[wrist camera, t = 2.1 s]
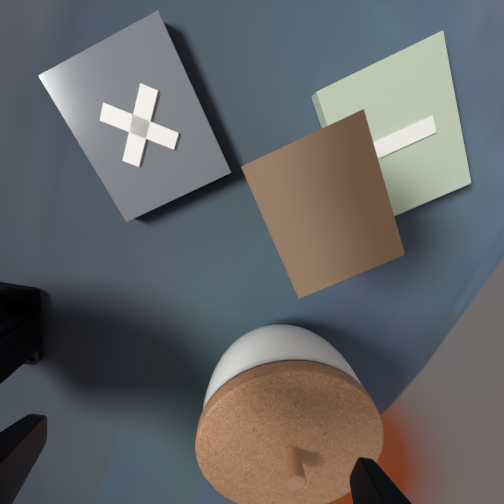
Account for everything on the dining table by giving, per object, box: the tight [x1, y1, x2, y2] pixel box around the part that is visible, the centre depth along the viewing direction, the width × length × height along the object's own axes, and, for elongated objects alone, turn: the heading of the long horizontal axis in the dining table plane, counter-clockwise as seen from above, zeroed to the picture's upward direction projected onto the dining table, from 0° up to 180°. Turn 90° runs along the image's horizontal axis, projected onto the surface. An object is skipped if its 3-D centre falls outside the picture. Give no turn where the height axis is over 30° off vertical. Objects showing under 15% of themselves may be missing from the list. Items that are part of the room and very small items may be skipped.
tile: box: [39, 11, 232, 222], centre depth 16 cm, size 8×9×1 cm
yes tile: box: [311, 31, 471, 216], centre depth 17 cm, size 8×9×1 cm
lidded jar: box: [195, 324, 384, 504], centre depth 18 cm, size 11×11×9 cm
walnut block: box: [241, 109, 405, 299], centre depth 14 cm, size 4×5×10 cm
